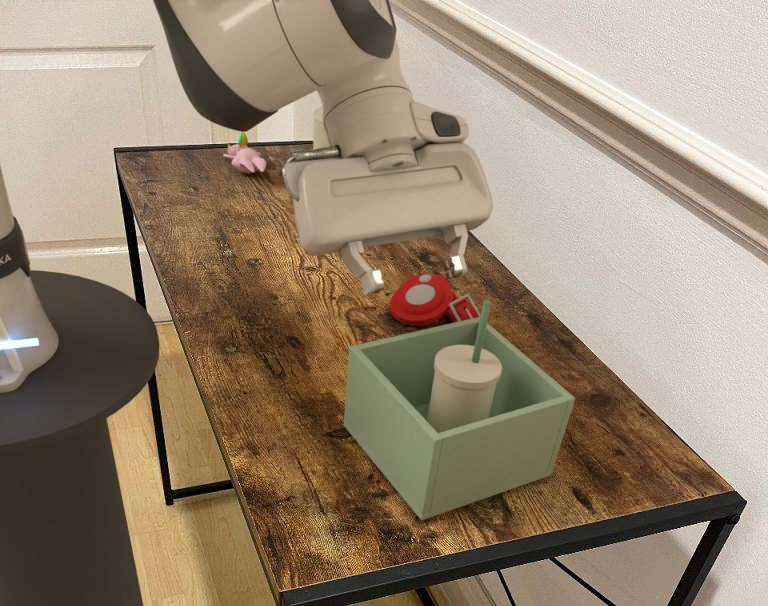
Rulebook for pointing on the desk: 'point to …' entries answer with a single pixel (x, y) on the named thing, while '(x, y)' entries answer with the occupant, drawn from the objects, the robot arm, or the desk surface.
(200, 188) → the desk surface
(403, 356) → the bin
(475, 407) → the paper cup
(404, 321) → the red flat rounded piece
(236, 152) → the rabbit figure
